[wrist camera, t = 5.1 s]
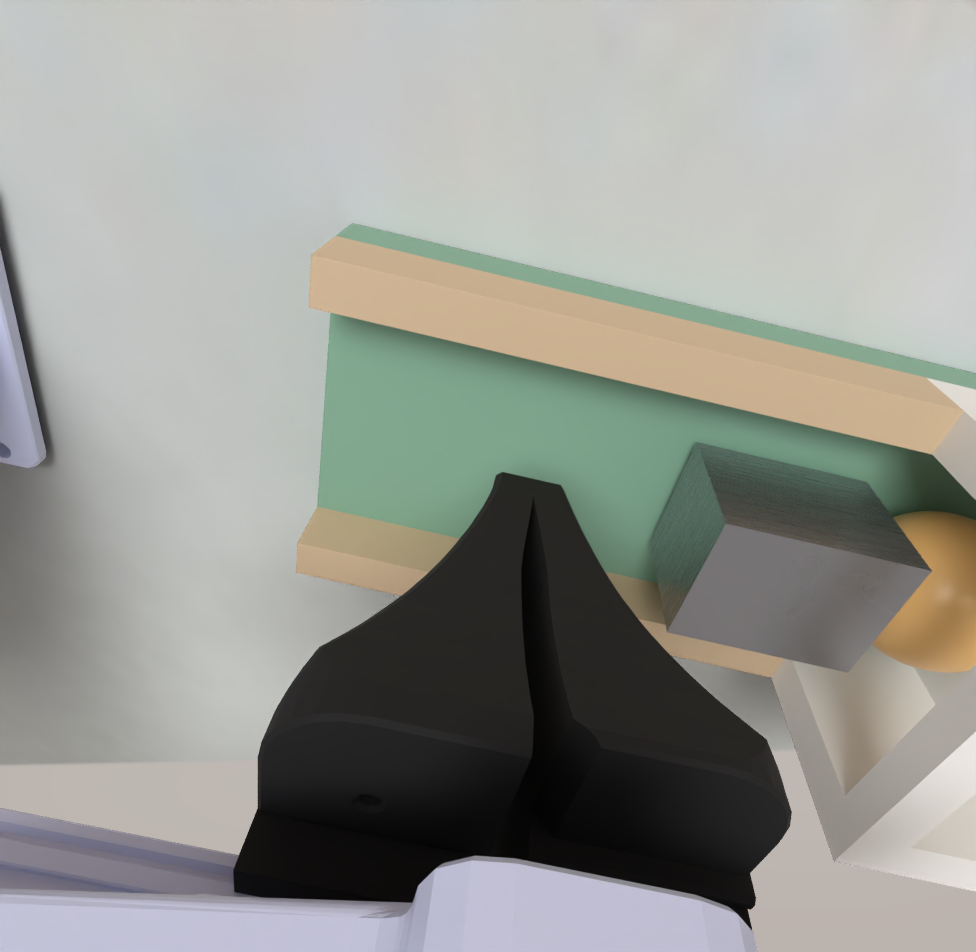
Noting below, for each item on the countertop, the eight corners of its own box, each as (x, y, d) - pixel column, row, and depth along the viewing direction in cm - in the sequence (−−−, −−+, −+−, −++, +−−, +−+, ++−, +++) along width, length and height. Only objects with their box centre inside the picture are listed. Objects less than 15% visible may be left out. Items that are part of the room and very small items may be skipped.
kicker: (650, 542, 16) (666, 632, 13) (696, 442, 14) (725, 523, 12) (803, 576, 16) (847, 672, 13) (867, 481, 14) (931, 571, 12)
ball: (892, 717, 13) (1002, 696, 14) (1004, 599, 11) (1120, 585, 12) (784, 593, 16) (885, 584, 17) (859, 480, 14) (966, 478, 15)
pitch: (329, 509, 18) (214, 730, 12) (352, 223, 14) (189, 348, 8) (891, 635, 19) (1046, 906, 13) (1088, 400, 14) (1472, 646, 8)
